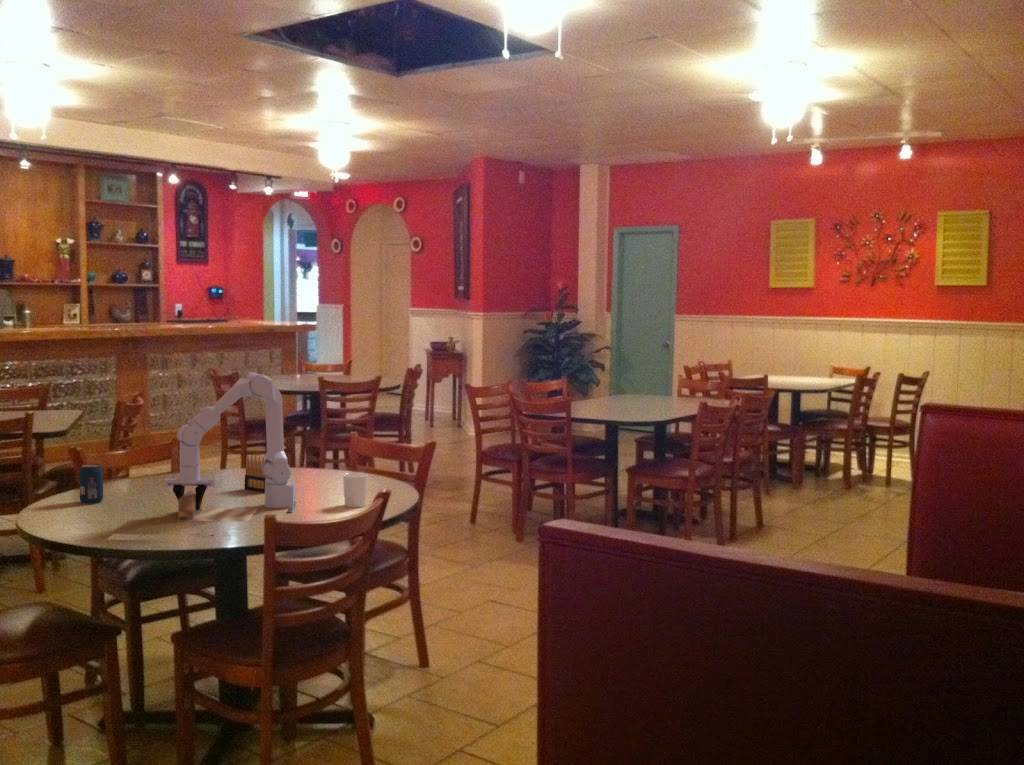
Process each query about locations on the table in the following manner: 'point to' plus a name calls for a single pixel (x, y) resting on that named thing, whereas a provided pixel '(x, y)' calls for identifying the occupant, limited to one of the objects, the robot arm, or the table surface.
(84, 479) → the soda can
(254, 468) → the ammunition clip
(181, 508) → the block
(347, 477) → the white cup
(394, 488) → the table surface
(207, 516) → the birch board
